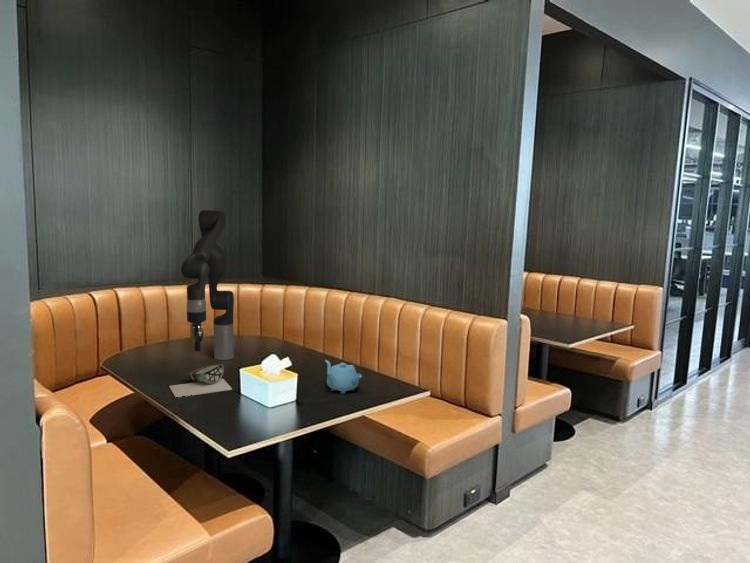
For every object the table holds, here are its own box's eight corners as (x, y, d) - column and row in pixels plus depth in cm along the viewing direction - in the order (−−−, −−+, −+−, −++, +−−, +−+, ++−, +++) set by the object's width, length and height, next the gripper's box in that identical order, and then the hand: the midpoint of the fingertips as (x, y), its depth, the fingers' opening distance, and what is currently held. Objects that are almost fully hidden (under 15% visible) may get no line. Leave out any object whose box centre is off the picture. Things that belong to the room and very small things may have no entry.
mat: (169, 387, 224) (169, 385, 224) (223, 379, 235) (223, 378, 235) (175, 397, 212) (175, 396, 212) (231, 389, 223) (231, 388, 223)
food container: (189, 388, 227) (207, 388, 223) (185, 374, 227) (203, 373, 222) (210, 378, 238) (227, 377, 234) (206, 365, 237) (224, 364, 233)
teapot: (323, 395, 219) (323, 368, 217) (324, 384, 232) (324, 358, 231) (361, 395, 220) (361, 368, 218) (360, 384, 233) (360, 359, 232)
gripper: (209, 312, 219) (210, 353, 221) (202, 305, 230) (203, 345, 233) (190, 313, 215) (191, 356, 218) (183, 307, 226) (184, 347, 229)
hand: (197, 350), depth 225 cm, fingers closed
